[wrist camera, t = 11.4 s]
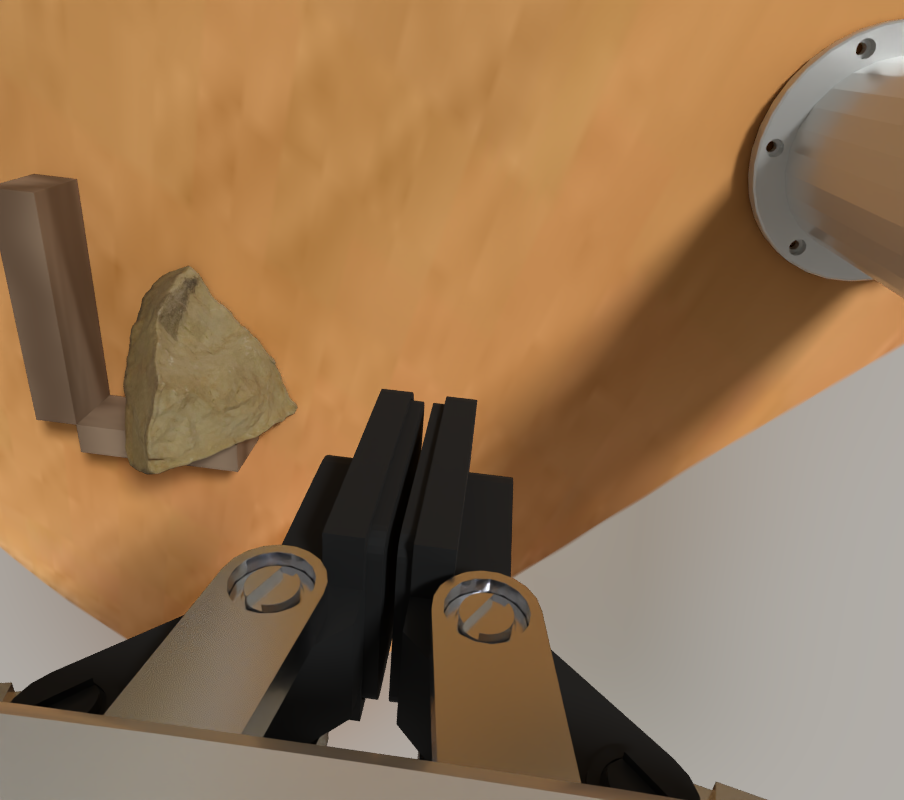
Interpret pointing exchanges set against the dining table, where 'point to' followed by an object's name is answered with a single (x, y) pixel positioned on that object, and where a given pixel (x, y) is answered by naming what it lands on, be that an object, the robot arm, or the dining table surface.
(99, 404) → the corner stop
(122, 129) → the dining table surface
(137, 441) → the rock
